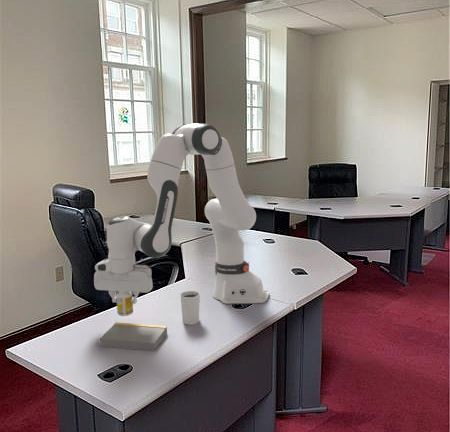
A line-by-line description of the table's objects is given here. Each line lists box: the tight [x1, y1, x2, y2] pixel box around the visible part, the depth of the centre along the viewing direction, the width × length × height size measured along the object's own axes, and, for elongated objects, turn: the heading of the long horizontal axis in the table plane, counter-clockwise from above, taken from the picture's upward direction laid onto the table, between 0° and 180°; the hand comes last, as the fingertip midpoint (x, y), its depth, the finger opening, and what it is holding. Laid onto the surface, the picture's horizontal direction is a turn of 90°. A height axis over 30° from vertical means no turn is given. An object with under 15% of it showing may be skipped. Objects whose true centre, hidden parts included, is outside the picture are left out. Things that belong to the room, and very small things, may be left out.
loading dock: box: [99, 322, 168, 352], centre depth 148 cm, size 18×12×3 cm, turn 78°
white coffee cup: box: [180, 290, 201, 326], centre depth 161 cm, size 7×7×10 cm
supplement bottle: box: [115, 289, 134, 317], centre depth 159 cm, size 5×5×10 cm
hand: (124, 302), depth 159 cm, fingers closed on supplement bottle, 5 cm apart
